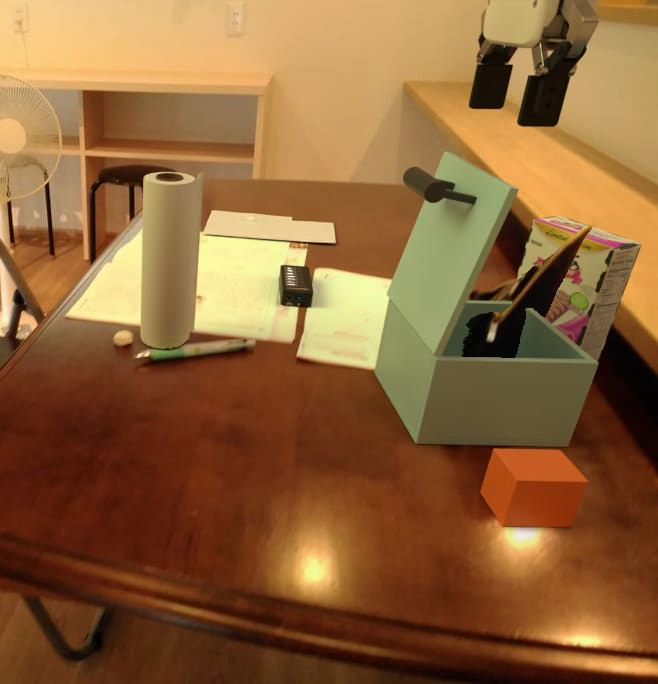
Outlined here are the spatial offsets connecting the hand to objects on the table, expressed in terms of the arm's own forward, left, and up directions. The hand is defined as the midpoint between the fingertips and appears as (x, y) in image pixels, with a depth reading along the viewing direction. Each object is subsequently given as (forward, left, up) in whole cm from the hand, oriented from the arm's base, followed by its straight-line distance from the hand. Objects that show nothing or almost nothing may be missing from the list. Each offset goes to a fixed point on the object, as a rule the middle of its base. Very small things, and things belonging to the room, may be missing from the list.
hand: (509, 116), depth 62 cm
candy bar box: (-20, -14, -31) cm, 39 cm away
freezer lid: (+3, 0, -13) cm, 13 cm away
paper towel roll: (+29, -15, -31) cm, 45 cm away
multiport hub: (+10, -32, -31) cm, 46 cm away
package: (-2, +17, -31) cm, 35 cm away
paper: (+8, -64, -31) cm, 72 cm away
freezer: (-3, 0, -31) cm, 31 cm away
